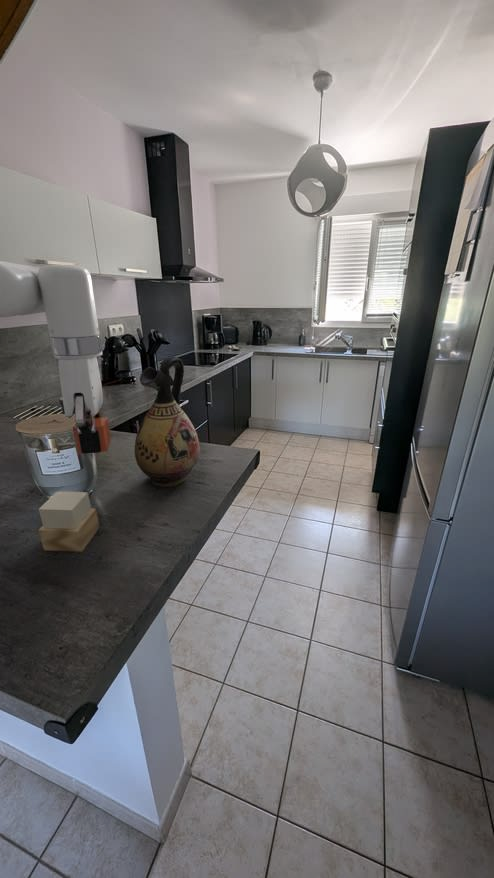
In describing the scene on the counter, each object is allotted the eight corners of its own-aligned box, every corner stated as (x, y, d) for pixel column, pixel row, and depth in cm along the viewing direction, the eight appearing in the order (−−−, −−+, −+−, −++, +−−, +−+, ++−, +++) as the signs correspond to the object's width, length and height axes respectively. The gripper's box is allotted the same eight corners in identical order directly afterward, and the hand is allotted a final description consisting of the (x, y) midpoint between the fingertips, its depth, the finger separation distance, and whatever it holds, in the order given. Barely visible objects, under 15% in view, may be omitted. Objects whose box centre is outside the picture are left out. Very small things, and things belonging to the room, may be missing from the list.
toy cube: (77, 454, 64) (72, 427, 62) (83, 443, 68) (78, 418, 66) (107, 451, 65) (103, 426, 63) (110, 441, 69) (107, 417, 67)
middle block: (43, 528, 63) (38, 509, 62) (61, 509, 69) (57, 491, 67) (76, 529, 63) (71, 510, 62) (91, 510, 69) (87, 492, 67)
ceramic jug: (174, 501, 80) (161, 367, 68) (125, 484, 87) (106, 360, 75) (216, 470, 93) (212, 354, 82) (171, 457, 100) (161, 350, 89)
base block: (43, 550, 65) (38, 530, 63) (64, 526, 71) (60, 507, 70) (82, 551, 64) (77, 531, 63) (99, 527, 71) (95, 508, 69)
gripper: (65, 341, 66) (82, 431, 73) (36, 355, 51) (61, 468, 58) (108, 340, 68) (120, 429, 75) (92, 354, 53) (109, 464, 60)
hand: (94, 445), depth 66 cm, fingers closed on toy cube, 5 cm apart
